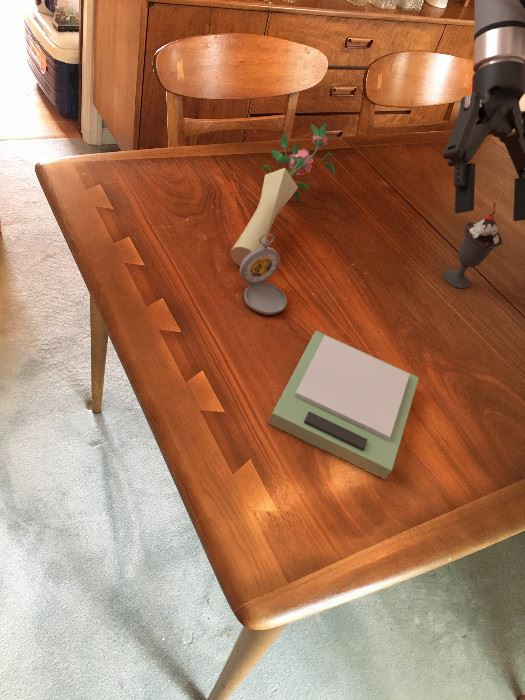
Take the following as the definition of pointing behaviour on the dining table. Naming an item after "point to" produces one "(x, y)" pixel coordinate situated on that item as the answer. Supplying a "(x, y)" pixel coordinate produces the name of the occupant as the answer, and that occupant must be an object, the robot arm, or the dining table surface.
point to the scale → (347, 404)
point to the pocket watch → (259, 293)
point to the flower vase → (277, 193)
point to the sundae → (474, 248)
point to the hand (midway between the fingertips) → (494, 216)
